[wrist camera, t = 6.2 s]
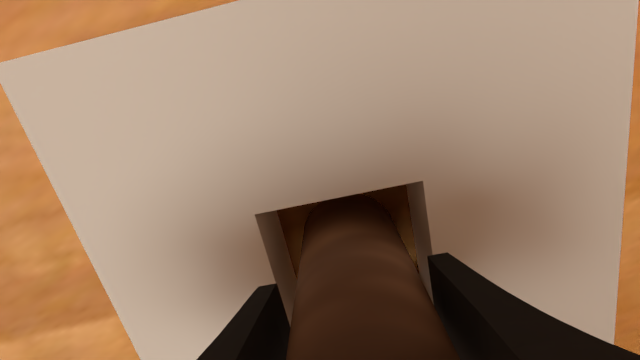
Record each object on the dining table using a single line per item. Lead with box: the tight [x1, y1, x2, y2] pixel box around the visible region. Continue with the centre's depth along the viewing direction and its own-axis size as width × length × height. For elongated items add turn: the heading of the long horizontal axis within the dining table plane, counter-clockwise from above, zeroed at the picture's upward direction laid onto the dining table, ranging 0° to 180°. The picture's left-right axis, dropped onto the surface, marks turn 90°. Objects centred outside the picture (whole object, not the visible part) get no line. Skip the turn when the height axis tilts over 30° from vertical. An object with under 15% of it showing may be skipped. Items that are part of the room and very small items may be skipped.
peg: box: [286, 194, 460, 360], centre depth 11 cm, size 4×4×8 cm
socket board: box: [0, 0, 639, 360], centre depth 13 cm, size 18×18×3 cm
